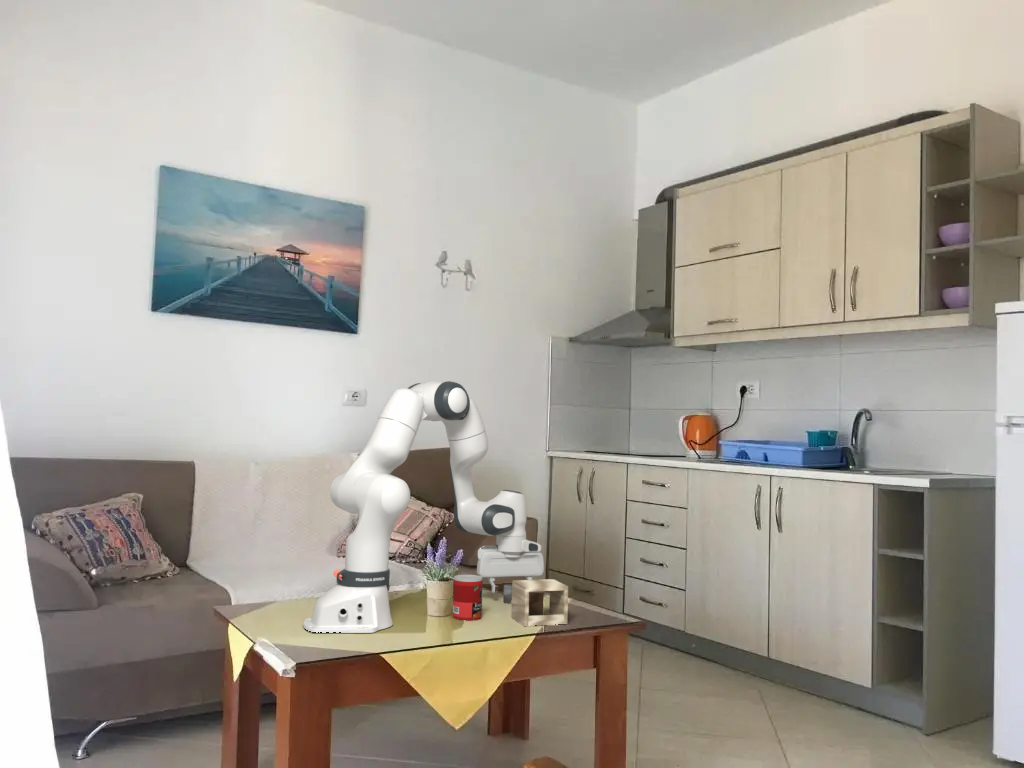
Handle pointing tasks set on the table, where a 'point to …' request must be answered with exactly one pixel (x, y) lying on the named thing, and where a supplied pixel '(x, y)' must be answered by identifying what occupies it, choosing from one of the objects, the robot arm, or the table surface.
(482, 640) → the table surface
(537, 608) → the partly hidden dark block
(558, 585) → the oak cubby
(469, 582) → the canned food
